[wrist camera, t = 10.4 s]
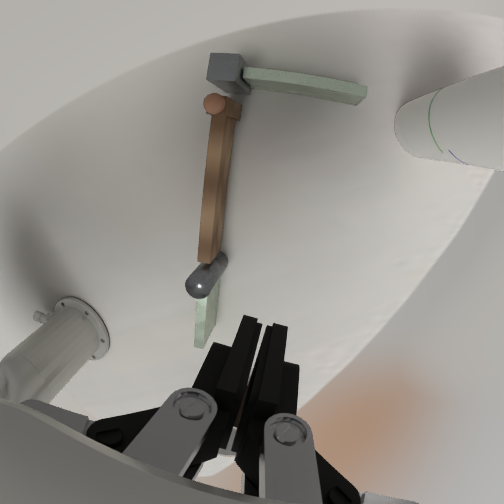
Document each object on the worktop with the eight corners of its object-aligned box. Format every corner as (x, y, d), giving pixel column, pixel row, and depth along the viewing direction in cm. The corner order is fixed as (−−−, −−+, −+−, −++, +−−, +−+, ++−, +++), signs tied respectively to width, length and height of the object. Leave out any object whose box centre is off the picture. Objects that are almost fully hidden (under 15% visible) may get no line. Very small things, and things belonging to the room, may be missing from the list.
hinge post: (201, 321, 44) (182, 354, 36) (207, 248, 40) (185, 272, 32) (220, 325, 43) (204, 359, 36) (229, 252, 40) (211, 277, 32)
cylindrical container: (431, 169, 32) (583, 216, 9) (384, 136, 32) (517, 125, 9) (455, 123, 30) (610, 118, 6) (409, 88, 29) (545, 25, 6)
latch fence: (226, 92, 33) (206, 79, 26) (229, 71, 32) (210, 52, 25) (355, 112, 32) (369, 102, 24) (358, 89, 31) (372, 74, 23)
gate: (225, 247, 39) (204, 275, 31) (209, 244, 39) (185, 271, 31) (242, 105, 33) (223, 92, 25) (225, 103, 33) (201, 91, 25)
